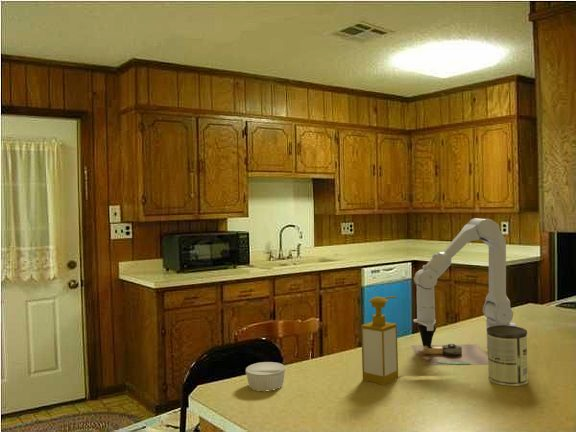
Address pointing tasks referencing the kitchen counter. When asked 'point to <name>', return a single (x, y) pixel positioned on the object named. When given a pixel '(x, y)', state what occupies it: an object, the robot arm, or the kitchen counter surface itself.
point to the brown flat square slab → (469, 356)
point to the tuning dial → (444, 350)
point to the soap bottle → (379, 347)
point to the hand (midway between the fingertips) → (426, 347)
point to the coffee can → (507, 355)
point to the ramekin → (265, 375)
